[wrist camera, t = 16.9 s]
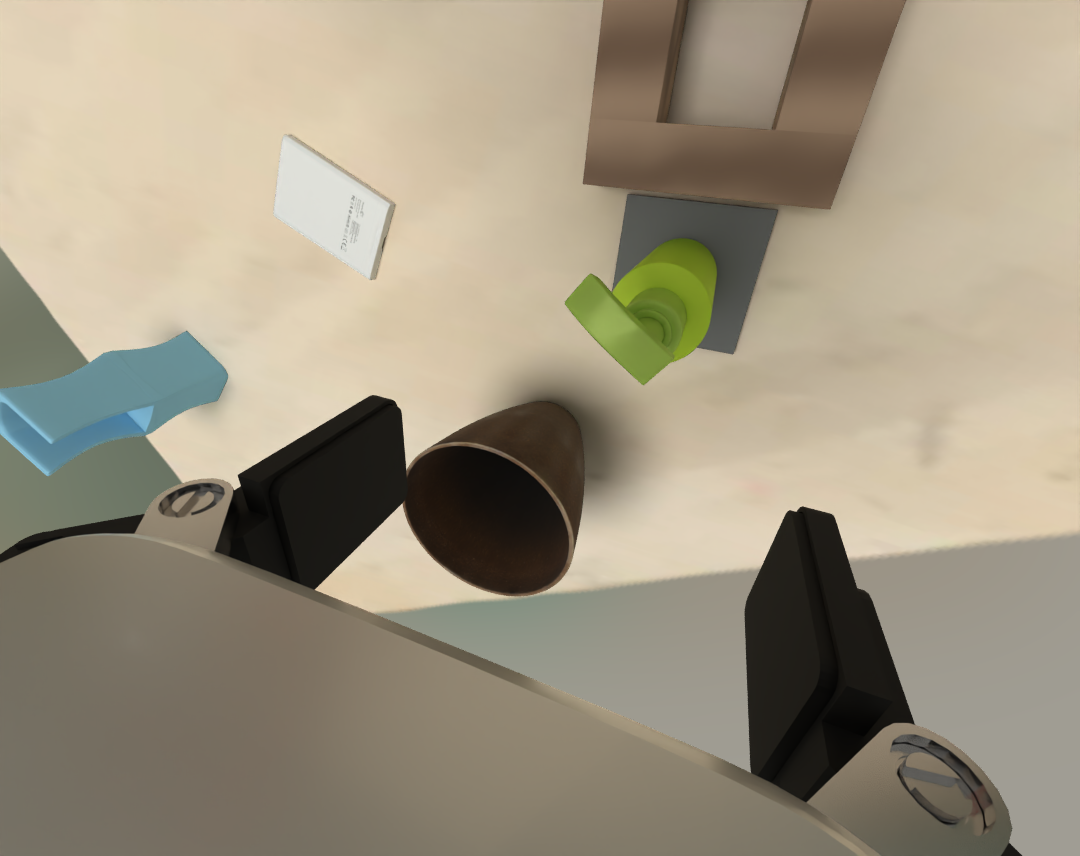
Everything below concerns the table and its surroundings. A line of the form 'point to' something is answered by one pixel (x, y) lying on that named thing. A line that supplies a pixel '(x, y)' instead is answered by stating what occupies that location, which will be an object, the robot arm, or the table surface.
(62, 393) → the light blue angular piece
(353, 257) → the external hard drive
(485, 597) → the table surface
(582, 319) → the soap dispenser
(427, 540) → the plant pot
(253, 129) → the table surface
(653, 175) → the socket block
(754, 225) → the rubber mat
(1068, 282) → the table surface
